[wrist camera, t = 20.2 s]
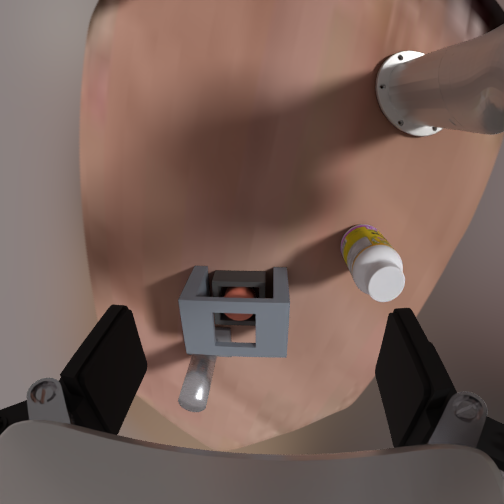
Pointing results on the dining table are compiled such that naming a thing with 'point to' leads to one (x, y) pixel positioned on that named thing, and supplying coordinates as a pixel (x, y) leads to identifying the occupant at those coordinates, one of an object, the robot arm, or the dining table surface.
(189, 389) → the silver metal cylinder
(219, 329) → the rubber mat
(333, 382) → the dining table surface
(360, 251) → the supplement bottle
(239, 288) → the button
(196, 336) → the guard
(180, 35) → the dining table surface
